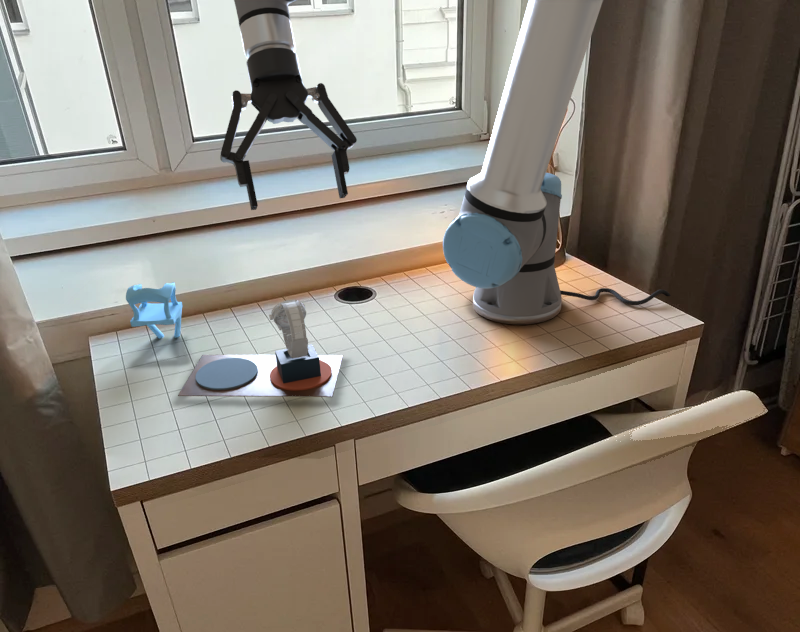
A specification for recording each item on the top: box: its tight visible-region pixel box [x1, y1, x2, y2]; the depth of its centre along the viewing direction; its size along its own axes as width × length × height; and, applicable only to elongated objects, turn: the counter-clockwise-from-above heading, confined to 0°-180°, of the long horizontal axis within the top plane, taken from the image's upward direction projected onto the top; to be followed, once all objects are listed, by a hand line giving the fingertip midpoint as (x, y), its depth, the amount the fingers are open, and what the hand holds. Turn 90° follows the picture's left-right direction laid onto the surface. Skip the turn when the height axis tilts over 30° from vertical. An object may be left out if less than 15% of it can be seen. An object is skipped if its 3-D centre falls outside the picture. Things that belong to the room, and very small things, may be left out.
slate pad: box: [195, 358, 258, 390], centre depth 104 cm, size 9×9×1 cm
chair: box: [125, 281, 184, 340], centre depth 110 cm, size 8×8×12 cm
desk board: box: [177, 354, 344, 398], centre depth 104 cm, size 22×12×1 cm, turn 87°
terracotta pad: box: [270, 360, 332, 391], centre depth 103 cm, size 9×9×1 cm
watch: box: [268, 299, 321, 383], centre depth 100 cm, size 6×8×11 cm
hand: (299, 202), depth 106 cm, fingers open, 13 cm apart
